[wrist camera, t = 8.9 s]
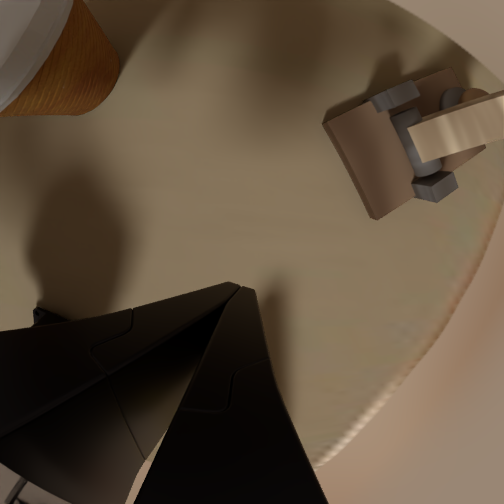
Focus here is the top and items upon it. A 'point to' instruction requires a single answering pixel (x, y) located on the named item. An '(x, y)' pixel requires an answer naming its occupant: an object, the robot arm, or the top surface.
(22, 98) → the disposable coffee cup
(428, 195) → the base
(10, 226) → the top surface
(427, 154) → the lever
